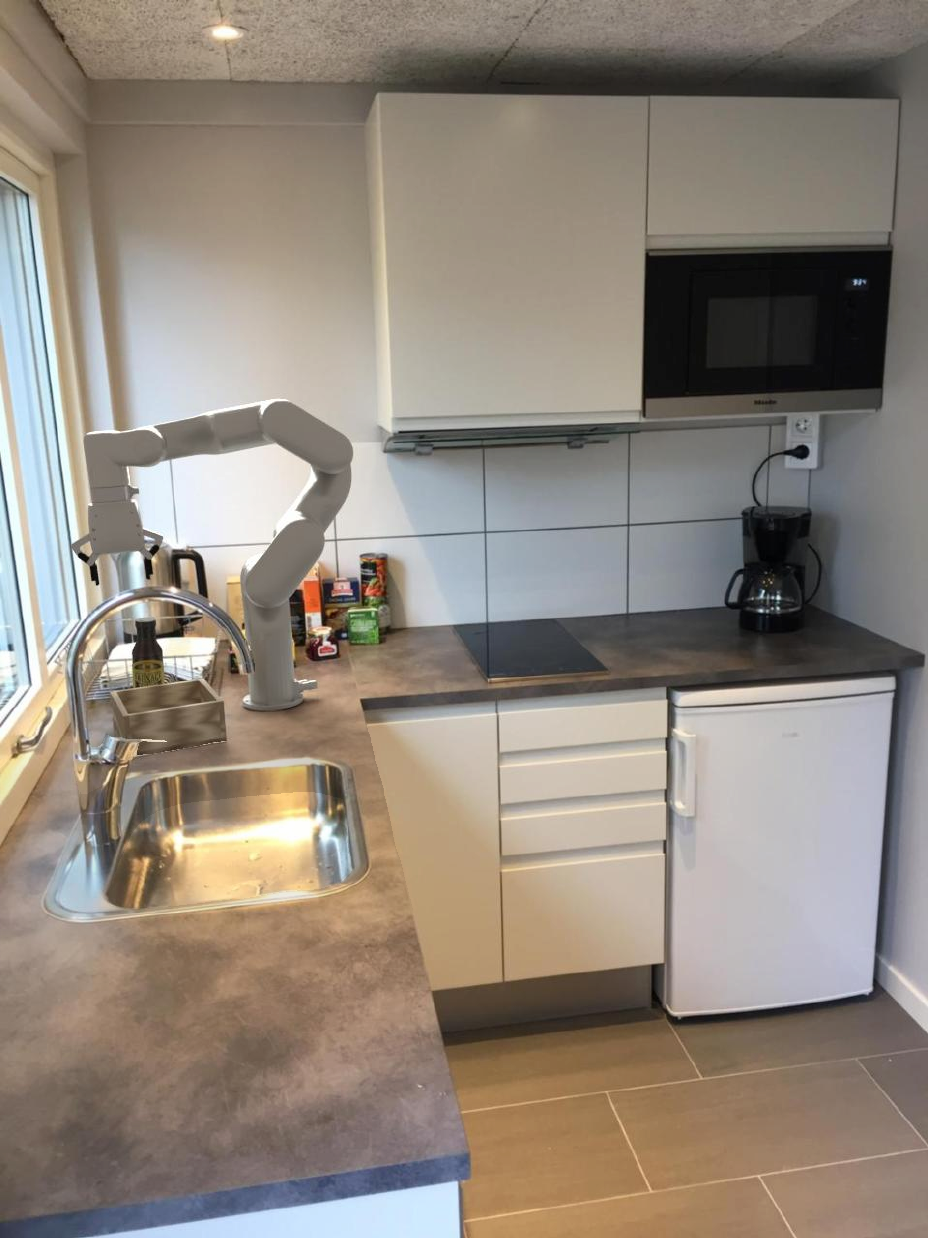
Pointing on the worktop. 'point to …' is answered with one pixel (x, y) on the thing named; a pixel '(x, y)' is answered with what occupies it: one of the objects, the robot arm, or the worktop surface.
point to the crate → (169, 715)
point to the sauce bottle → (147, 655)
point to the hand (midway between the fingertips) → (123, 581)
